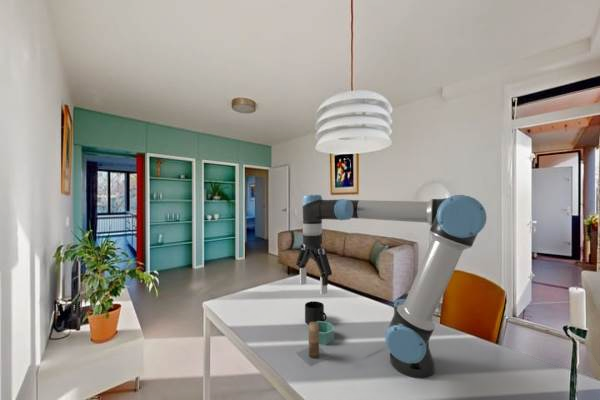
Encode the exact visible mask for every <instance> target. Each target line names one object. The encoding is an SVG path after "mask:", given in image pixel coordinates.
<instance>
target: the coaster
mask: <svg viewBox="0 0 600 400" xmlns="http://www.w3.org/2000/svg"><path fill="white" fill-rule="evenodd" d="M295 354H296V355H297V356H298V357H299V358H301V360H302V361H304V362H305V363H306V364H307V365H308V366H309V367H313V366H315V365H316V364H319V363H321V362H324V361H326V360H328V359H331V358H332V356H331V355H329V354H328V353H327V352H326V351H325V350H323V348H320V347H319V357H318V358H310V357H309V347H306V348H304V349H302V350H299V351H296V352H295Z"/></svg>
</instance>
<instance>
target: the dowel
mask: <svg viewBox="0 0 600 400" xmlns="http://www.w3.org/2000/svg"><path fill="white" fill-rule="evenodd" d="M308 348H309V357H310V358H318V357H319V348H320V344H319V323H317V322H310V323H309V325H308Z"/></svg>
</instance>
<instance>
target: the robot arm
mask: <svg viewBox="0 0 600 400" xmlns="http://www.w3.org/2000/svg"><path fill="white" fill-rule="evenodd" d="M301 207H302V234H303V235H302V244H300V246H299V248H300V249H299V253H298V256H297V260H296V266H298V268H299V285H300V286H302V285H305V284H307V266H306V265H307V264H308V263H309V260H310V259H312V260H313V261H315V264H316V265H317V268H318V270H319V273H320V276H319V278H320V279H319V280H320V281H319V285H320V289H319V293H320V295H326V294H328V284H329V276H332V275H333V272H332V269H331V266H330V261H329V257H328V255H327V249H326V248H321V245H322V244H323V235H322V233H323V225H322V224H323V220H332V221H333V220H335V221H337V220H338V221H346V220H347V221H348V220H351V219H361V220H362V219H364V220H377V221H393V222H394V221H395V222H396V221H397V222H410V223H427V224H429V225H430V226H431V227H430V229H429V233H430V234H431V235H430V236H431V237H432V238H431V240H430V243H429V245H428V248H427V250H426V252H425V255H424V257H423V260H422V261H421V264H420V267H419V268H418V270H417V273H416V276H415V278H414V280H413V282H412V284H411V287H410V290H409V292H408V295H407V297H406V298H400V299H396V300H394V302H393V303H394V304H393V311H394V312H393V317H392V319H391V320H390V324H389V326H388V328H387V329H386V331H385V337H384V340H385V341H384V342H385V345H386V347H387V349H388V351H389V363H390V364H391V366H392V367H393V368H394V370H396V371H398V372H399V373H401V374H403V375H405V376H408V377H412V378H419V379H423V378H424V379H425V378H428V377H431V376H432V375H434V373H435V361H434V358H433V355H432V352H431V349H430V345H429V344H430V339H431V337H432V335H433V332H434V330H435V324H434V322H433V318H434V315H435V314H436V311H437V309H438V306H439V305H440V302H441V301H442V298H443V296H444V294H445V291H446V289H447V287H448V284H449V282H450V280H451V278H452V276H453V274H454V272H455V269H456V267H457V265H458V262H459V260H460V258H461V256H462V253H463V251H465V250H467V249H471V248H472V247H473V245H474V242H475V241H476V239H477V236H478V234H479V233H480V232H481V231H482V230H483V229H484V227H485V226H486V224H487V212H486V209H485V207H484V206H483V204H482V203H481V202H480V201H479V200H477V199H476V198H474V197H472V196H471V195H464V194H455V195H451V196H449V197H445V198H431V199H430V200H428V201H417V200H416V201H415V200H414V201H412V200H411V201H410V200H408V201H407V200H374V199H373V200H368V199H366V200H365V199H364V200H363V199H362V200H361V199H359V200H358V199H346V198H345V199H344V198H343V199H342V198H341V199H340V198H339V199H323V197H322V195H321V194H305V195H303V198H302V206H301Z"/></svg>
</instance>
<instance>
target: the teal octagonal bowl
mask: <svg viewBox="0 0 600 400" xmlns="http://www.w3.org/2000/svg"><path fill="white" fill-rule="evenodd" d="M317 323H319V346H321V345H323V346H326V345H329V344H332V343H334V340H335V325H334V324H333V323H330V322H328V321H324V322H323V321H317Z"/></svg>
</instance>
